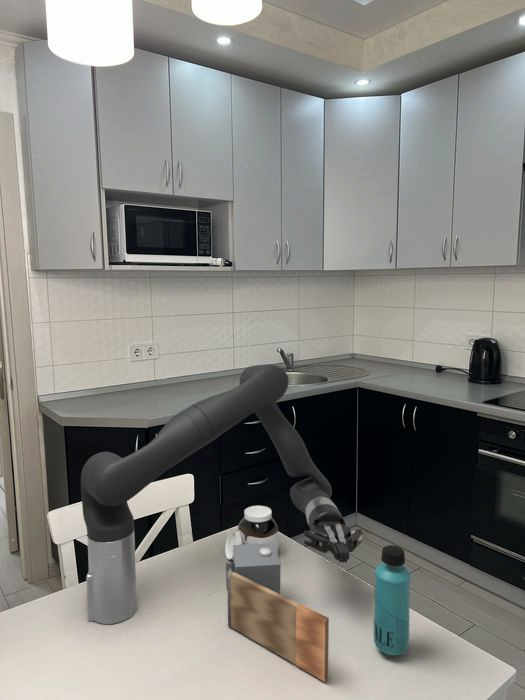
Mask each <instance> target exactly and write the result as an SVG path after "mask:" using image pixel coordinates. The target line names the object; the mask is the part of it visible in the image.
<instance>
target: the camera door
mask: <svg viewBox="0 0 525 700" xmlns="http://www.w3.org/2000/svg"><path fill="white" fill-rule="evenodd" d="M227 588H228V591H227V626H228V627H231V628H232V629H234V630H236V631H237V632H239V633H240V634H243V635H245V636H246V638H247V637H248V638H249V639H251V640H253V641H255V643H258V644H259V645H261V646H263V647H265V648H267V649H268V650H270V651H272V652H273V653H274V654H276V655H279V656H280V657H282V658H284V659H286V660H287V661H288V662H290V663H292V664H294V665H295V666H297V667H299V668H301V669H303V670H304V671H306V672H307V673H309V674H311V675H312V676H314V677H316V678H318V679H319V680H321V681H323V682H325V681H327V680H328V678H329V632H330V631H329V629H330V628H329V627H330V626H329V625H330V621H329V619H330V618H329V616H326V615H324V614H322V613H320V612H318V611H316V610H313V609H312V608H310V607H308V606H306V605H303V604H302V603H299V602H296V601H294V600H292V599H290V598H288V597H286V596H284V595H282V594H281V593H280V594H278V593H276V592H274V591H272V590H270V589H268V588H266V587H264V586H262V585H260V584H258V583H256V582H254V581H251V580H249V579H247V578H245V577H243V576H241V575H239V574H237V573H235V572H233V571H228V572H227V583H226V589H227Z"/></svg>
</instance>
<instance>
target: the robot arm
mask: <svg viewBox="0 0 525 700" xmlns="http://www.w3.org/2000/svg"><path fill="white" fill-rule="evenodd" d="M238 383H239V384H238V386H236V387H234V388H232V389H229V390H227V391H223V392H220V393H218V394H214V395H212V396H210V397H207V398H204V399H202V400H199V401H197V402H195V403H193V404H191V405H190V406H188V407H186V408H184V409H183V410H181V411H179V412H177V413H175V414H174V416H172V417H171V418H170V419H169V420H168V421H167V422H166V423H165V424H164V426H163V427H162V428H161V429H160V431H159V432H158V434H157V435H156V436H155V437H154V438H153V439H152V440H151V441H150V442H149V443H147V444H146V445H145V446H143V447H141V448H139V449H138V450H136V451H134V452H133V453H131V454H128V455H126V456H124V457H121V456H119V455H118V454H116V453H115V452H114V453H113V452H111V451H102V452H97V453H96V454H94V455H92V456H91V457H89V458H88V460H86V462H85V464H84V465H83V468H82V470H81V475H80V493H81V504H82V505H81V507H82V515H83V516H82V517H83V521H84V523H85V526H86V534H87V555H88V556H87V557H88V572H87V574H86V579H85V580H86V582H85V583H86V599H87V601H86V603H87V621H89V622H91V621H92V622H96V623H97V624H101V625H102V624H103V625H113V624H118V623H120V622H121V623H122V622H124V621H127V619H129V618H131V617H132V616H133V615H134V613H136V611H137V609H138V608H137V607H138V605H137V604H138V603H137V601H138V600H137V598H138V597H137V577H136V576H137V575H136V574H137V573H136V572H137V571H136V546H135V545H136V542H135V518H134V515H133V513H132V511H131V509H130V506H129V503H128V501H130V500H131V499H132V498H134V497H135V496H137V495H138V494H139V493H140V492H141V491H143V490H144V489H145V488H146V487H147V486H149V485H150V484H151V483H153V482H154V481H155V480H156V479H158V477H160V476H161V475H163V474H164V473H165V472H168V470H169V469H171V468H173V467H174V466H176V465H177V464H179V463H180V462H182V461H183V460H185V459H186V458H187V457H189V456H191V455H193V454H194V453H196V452H197V451H199V450H200V449H203V448H204V447H206V445H208V444H210V443H211V442H213V441H214V440H216V439H217V438H218V437H219V436H221V435H223V434H225V432H227V431H229V430H230V429H232V428H233V427H234V426H236V425H238V424H239V423H240V422H241V421H243V420H244V419H245V418H248V417H249V416H250V415H252V414H254V413H255V415H256V417H257V418H258V419H259V421H260V423H261V425H262V426H263V427H264V429H265V431H266V433H267V435H268V436H269V437H270V440H271V441H272V443H273V446H274V447H275V449H276V451H277V454H278V455H279V458H280V460H281V462H282V465H283V467H284V469H285V471H286V473H287V475H288V476H290V477H291V478H300V477H304V476H305V477H306V476H308V477H307V478H304V479H302V480H300V481H298V482H296V483H295V484H293V485H292V486H291V488H290V491H289V496H290V500H291V502H292V503H293V505H294V506H295V507H296V508H297V509H298V510H299V511H300V512H302V513H303V514H305V516H306V517H305V518H306V521H307V525H308V526H309V530H310V531H309V530H305V531H304V532H303V533H304V534H303V535H304V536H303V544H304V545H306V546H308V547H310V548H313V549H315V550H316V551H319V552H321V553H322V554H323V553H325V554H326V553H328V552H330V553H331V554H332V556H333V557H334V559H335V560H336V561H338V562H339V563H348V560H350V553H353V552H354V551H355V550H356V549H357V548H358V547H359V546H360V545H361V544H362V542H363V530H362V529H359V528H358V529H356V530H352V529H351V528H350V526H348V525H347V524H346V522H345V519H344V516H342V514H341V512H340V510H339V509H338V507H337V506H336V504H335V503H334V502H333V501H332V499H331V496H332V494H333V488H332V486H331V484H330V482H329V481H328V479H327V478H326V476H324V475H323V473H322V472H321V471H320V470H319V469H318V467H317V465H316V464H315V463H314V461H313V460H312V458H311V456H310V453H309V451H308V449H307V447H306V444H305V442H304V440H303V438H302V437H301V436H300V434H299V432H298V431H297V430H296V429H295V428H294V426H293V425H292V424H291V423H290V422H289V420H288V419H287V418H286V417H285V415H284V413H282V411H281V410H280V408H279V406H278V404H277V401H279V400H281V398H283V396H284V395H285V394H286V392H287V390H288V387H289V376H288V374H287V372H286V371H285V370H284V369H283V368H282V367H280V366H278V365H275V364H270V363H269V364H267V363H266V364H257V365H251V366H248V367H246V368H245V369H243V371H242V372H241V374H240V377H239V382H238ZM320 543H321V544H320Z"/></svg>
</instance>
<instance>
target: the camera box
mask: <svg viewBox="0 0 525 700" xmlns="http://www.w3.org/2000/svg"><path fill="white" fill-rule="evenodd" d="M232 561H233V562H227V563H226V564H225V574H226V575H225V577H226V583H225V584H227V572H228V571H233V572H235V573H237V574H239V575H241V576H243V577H245V578H247V579H249V580H251V581H254V582H256V583H258V584H260V585H262V586H264V587H266V588H268V589H270V590H272V591H274V592H276V593H278V594H280V595H281V562H280V557H279V554H278V551H277V549H276V546H275V543H264V544H245V545H233V560H232ZM226 591H227V592H228V588H227V587H226Z"/></svg>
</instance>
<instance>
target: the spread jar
mask: <svg viewBox="0 0 525 700" xmlns="http://www.w3.org/2000/svg"><path fill="white" fill-rule="evenodd" d="M243 511H244V512H243V513H244V517H243V518H242V519H241V520H240V521H239V523H238V527H237V530H230V532H229V533H228V535H227V538H226V540H225V546H224V553H225V557H226V559H227V560H230V561H233V545H245V544H264V543H275V546H276V549H277V552H278V550H279V547H280V546H279V544H280V543H279V541H280V539H279V538H280V535H279V527H278V525H277V523H276V521H275V520H274V518H273V517H272V515H273V513H272V509H271V508H270V507H268V506H265V505H264V506H263V505H251V506H248V507H247V508H245V509H244V510H243Z"/></svg>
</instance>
